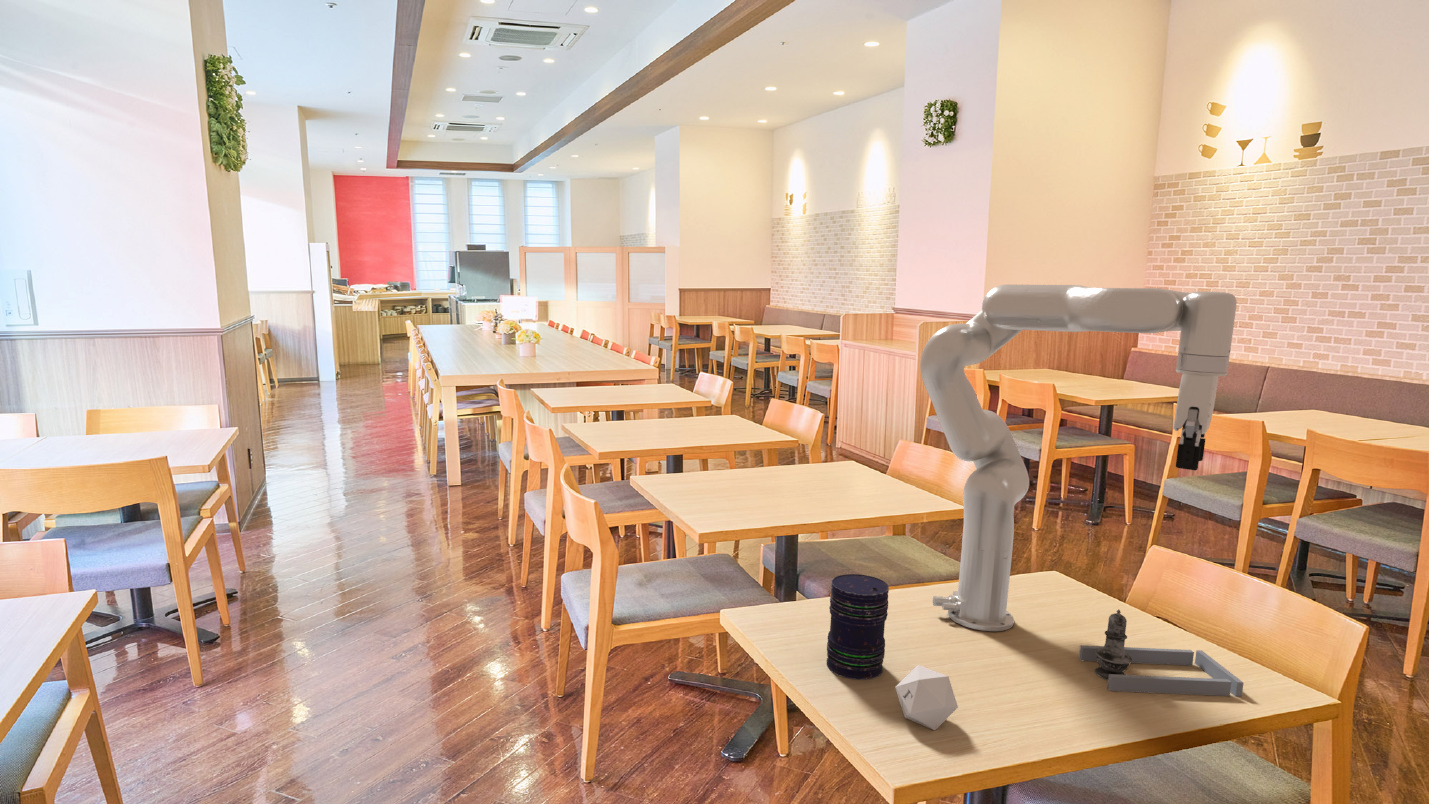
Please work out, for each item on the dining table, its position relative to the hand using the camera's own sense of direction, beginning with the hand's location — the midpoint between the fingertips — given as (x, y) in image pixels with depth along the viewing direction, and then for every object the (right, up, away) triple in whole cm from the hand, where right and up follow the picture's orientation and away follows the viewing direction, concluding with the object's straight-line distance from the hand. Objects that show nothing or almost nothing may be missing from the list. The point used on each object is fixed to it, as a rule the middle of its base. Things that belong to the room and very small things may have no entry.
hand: (1189, 464), depth 141 cm
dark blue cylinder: (-58, -35, +1) cm, 67 cm away
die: (-50, -38, -16) cm, 65 cm away
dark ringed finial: (-13, -37, +2) cm, 39 cm away
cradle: (-6, -37, +2) cm, 38 cm away
